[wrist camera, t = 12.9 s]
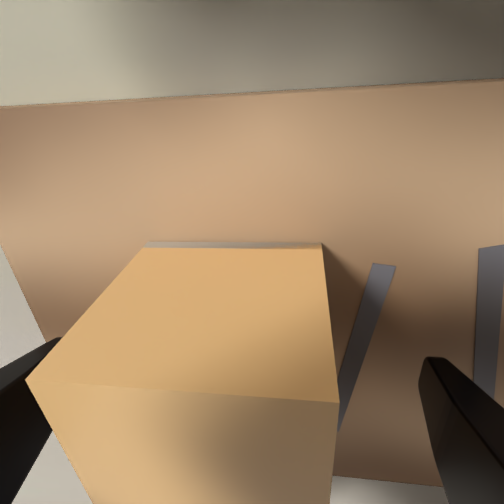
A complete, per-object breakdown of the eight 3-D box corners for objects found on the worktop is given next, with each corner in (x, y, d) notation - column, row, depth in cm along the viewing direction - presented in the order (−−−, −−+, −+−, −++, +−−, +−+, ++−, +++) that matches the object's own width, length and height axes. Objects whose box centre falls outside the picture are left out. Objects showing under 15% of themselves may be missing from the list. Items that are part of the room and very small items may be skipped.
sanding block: (313, 418, 10) (319, 603, 7) (186, 408, 11) (131, 572, 7) (321, 242, 7) (340, 402, 4) (148, 241, 8) (25, 379, 4)
